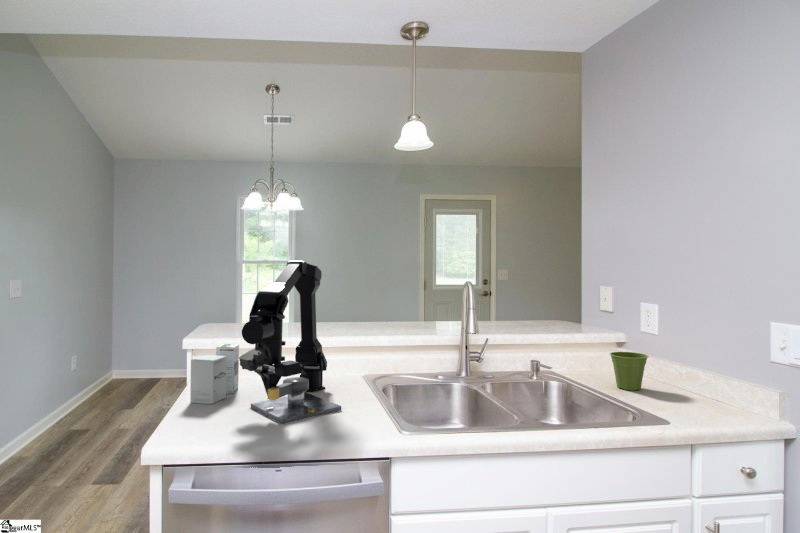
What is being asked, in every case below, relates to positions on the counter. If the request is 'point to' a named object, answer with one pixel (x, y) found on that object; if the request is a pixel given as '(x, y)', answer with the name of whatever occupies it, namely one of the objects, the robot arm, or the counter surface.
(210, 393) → the supplement box
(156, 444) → the counter surface
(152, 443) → the counter surface
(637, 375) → the plant pot
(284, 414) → the base
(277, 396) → the handle
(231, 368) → the syrup box
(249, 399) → the counter surface
